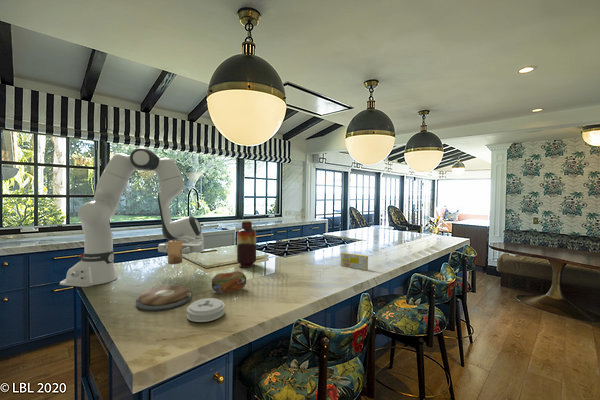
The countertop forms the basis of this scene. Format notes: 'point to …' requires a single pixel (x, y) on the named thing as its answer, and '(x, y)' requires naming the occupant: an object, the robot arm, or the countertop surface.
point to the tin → (228, 282)
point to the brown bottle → (246, 245)
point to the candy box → (354, 261)
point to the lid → (205, 310)
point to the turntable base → (162, 307)
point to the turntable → (164, 295)
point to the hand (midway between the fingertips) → (174, 250)
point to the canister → (174, 251)
